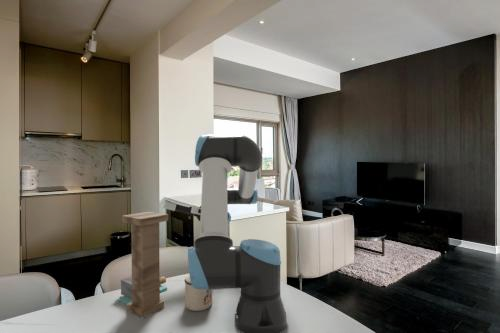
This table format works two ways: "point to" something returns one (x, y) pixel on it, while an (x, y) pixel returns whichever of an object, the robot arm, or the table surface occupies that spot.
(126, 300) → the mat
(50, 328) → the table surface
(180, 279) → the table surface
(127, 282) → the mallet
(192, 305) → the teacup with lid
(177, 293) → the table surface
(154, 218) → the stand
